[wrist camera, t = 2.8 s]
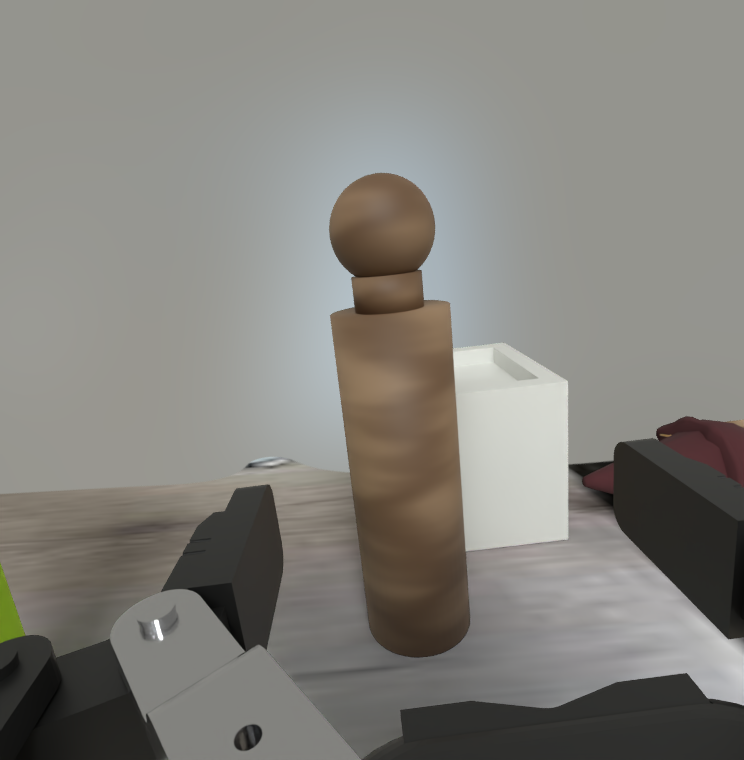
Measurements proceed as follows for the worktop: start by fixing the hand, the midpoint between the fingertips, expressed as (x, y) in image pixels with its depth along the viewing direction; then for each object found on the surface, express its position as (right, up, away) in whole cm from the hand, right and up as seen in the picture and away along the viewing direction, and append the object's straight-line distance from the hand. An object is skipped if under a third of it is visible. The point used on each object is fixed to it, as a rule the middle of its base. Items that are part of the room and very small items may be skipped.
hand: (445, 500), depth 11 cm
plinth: (+4, -6, +25) cm, 26 cm away
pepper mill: (+1, -9, +14) cm, 17 cm away
